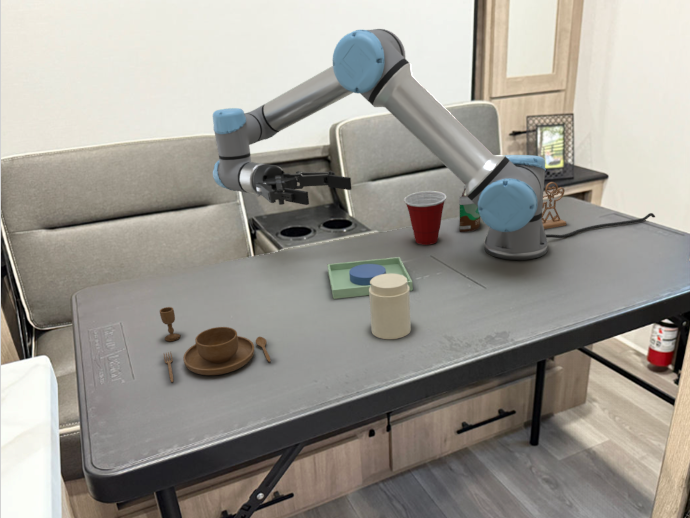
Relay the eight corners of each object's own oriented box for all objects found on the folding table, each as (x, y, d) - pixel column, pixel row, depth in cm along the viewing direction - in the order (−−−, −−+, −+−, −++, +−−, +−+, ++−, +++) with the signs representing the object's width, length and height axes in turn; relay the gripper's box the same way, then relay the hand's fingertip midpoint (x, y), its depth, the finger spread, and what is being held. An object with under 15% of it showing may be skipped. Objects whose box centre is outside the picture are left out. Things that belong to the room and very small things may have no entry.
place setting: (169, 390, 97) (161, 358, 95) (161, 337, 114) (154, 309, 111) (276, 364, 103) (272, 334, 101) (254, 317, 120) (249, 290, 117)
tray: (400, 265, 142) (399, 256, 141) (412, 290, 129) (412, 281, 128) (328, 272, 140) (327, 264, 139) (333, 299, 126) (332, 290, 126)
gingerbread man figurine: (538, 230, 162) (541, 186, 156) (530, 226, 165) (533, 182, 160) (566, 225, 164) (570, 181, 159) (558, 221, 168) (561, 178, 163)
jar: (406, 318, 117) (405, 270, 113) (414, 336, 110) (413, 286, 106) (369, 323, 116) (365, 274, 112) (374, 341, 109) (371, 290, 105)
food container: (482, 234, 160) (483, 197, 156) (459, 233, 161) (459, 197, 157) (485, 220, 171) (486, 185, 167) (463, 219, 172) (464, 185, 168)
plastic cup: (396, 242, 157) (394, 197, 152) (423, 231, 164) (422, 188, 159) (428, 251, 150) (427, 204, 145) (455, 240, 157) (455, 194, 152)
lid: (342, 281, 133) (341, 273, 132) (362, 269, 139) (362, 261, 139) (373, 288, 129) (372, 280, 128) (392, 275, 136) (392, 267, 135)
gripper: (303, 183, 154) (367, 194, 142) (224, 208, 136) (289, 222, 124) (300, 154, 151) (364, 162, 139) (218, 175, 133) (285, 187, 121)
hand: (329, 190), depth 132 cm, fingers open, 13 cm apart
